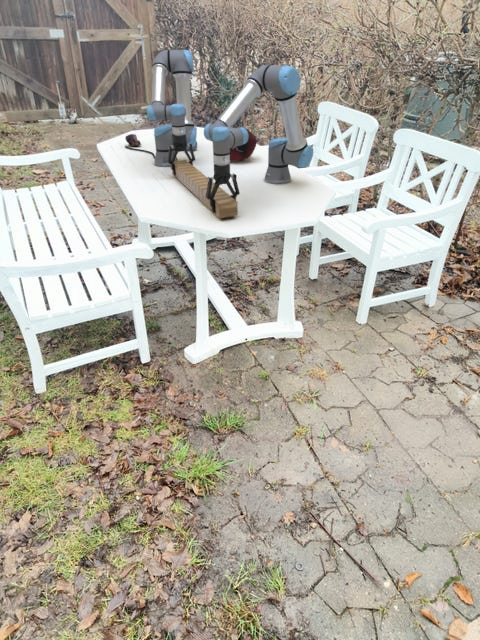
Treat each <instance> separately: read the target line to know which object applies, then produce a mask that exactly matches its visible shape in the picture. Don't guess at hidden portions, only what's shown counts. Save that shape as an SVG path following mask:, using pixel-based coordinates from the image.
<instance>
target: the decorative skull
mask: <svg viewBox="0 0 480 640" xmlns="http://www.w3.org/2000/svg"><path fill="white" fill-rule="evenodd" d="M238 127H239V128H240V127H241V126H234V127H233V128H238ZM242 127H243V126H242ZM243 128H245V129H246V130H247V132H248V136H249V137H248V141H247V142H246V143H245V144H243V145H241V146H236V147H232V148H230V162H244V161H246V160H248V159H249V158H250V157H251V156H252V155H253V154H254V151H255V149H256V146H257V143H258V141H257V138H256V136H255V135H254V133H253V132H252V131H250V130H249V129H248V128H246V127H243Z"/></svg>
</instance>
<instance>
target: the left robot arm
mask: <svg viewBox="0 0 480 640" xmlns="http://www.w3.org/2000/svg"><path fill="white" fill-rule="evenodd" d="M150 69H151V70H150V72H151V74H152V81H151V82H152V84H151V100H150V105H147V106H146V115H147V119H148V120H150V121H171V124H162V125H158V126H156V127H155V128H154V129H153V136H154V145H155V154H154V152H152V151H150V150H146V149H139V148H133V147H131V146H127V145H125V146H124V147H125V148H126V149H129V150H132V151H138V152H145V153H148V154H151V155H152V156H153V159H154V165H155V166H157V167H163V168H164V167H165V168H167V167H168V168H169V167H170V170H171V171H172V170H173V174H172V175H173V176H175V177H176V172H175V164H174V161H179V159H178V157H177V155H178V154H179V153H180V152H184V154H185V155H186V157H187V159H188V160H189V161H188V160H187V161H188V162H189V163H190V164H191V165H193V166H194V162H195V161H196V157H195V153H194V150H193V149H192V147H193V146H195V143H196V141H197V131H198V129H197V127H196V126H195V123H194V122H193V121H192V100H191V99H192V98H191V81H190V80H191V77H192V76H193V73H194V72H195V65H194V59H193V54H192V51H190V49H165V50H161V51H160V52H159V53H157V54H156V55H155V57H154V59H153V61H152V63H151V68H150ZM168 73H172V76H173V78H174V79H175V95H176V103H173V104H171V105H166V103H165V101H166V79H167V76H168ZM186 147H189V150H190V151H189V152H188V150H186ZM174 148H175V149H174ZM189 153H190V154H189Z"/></svg>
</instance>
